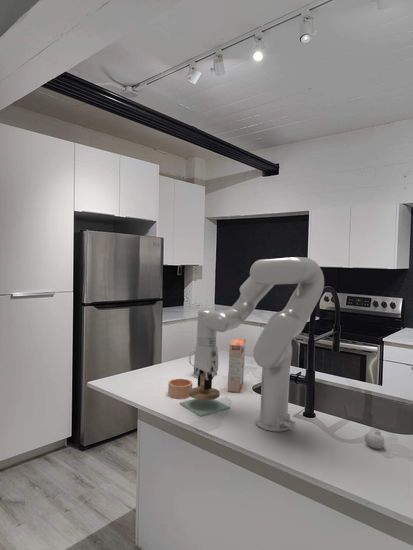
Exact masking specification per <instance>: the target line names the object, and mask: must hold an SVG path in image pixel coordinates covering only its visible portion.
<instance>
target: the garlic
mask: <svg viewBox="0 0 413 550" xmlns="http://www.w3.org/2000/svg"><path fill="white" fill-rule="evenodd" d="M381 434H382V432H381V431H379V430H378V431H369V432H367V433H365V435H364V441H365V444H366V446H367V445H368V446H369V447H370V448H373V449H376V450H381V449H383V448H384V446H385V437H384V436H383V435H381Z"/></svg>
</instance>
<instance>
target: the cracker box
mask: <svg viewBox="0 0 413 550" xmlns="http://www.w3.org/2000/svg"><path fill="white" fill-rule="evenodd" d="M228 349H229V352H228V353H229V354H228V371H227V372H228V373H227V374H228V376H227V392H229V393H231V392H232V393H239V394H240V393H241V390H242V389H243V384H244V377H245V376H244V375H245V358H246V339H245V338H233V339H232V340H231V342H230V344H229V348H228Z"/></svg>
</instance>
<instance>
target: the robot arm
mask: <svg viewBox="0 0 413 550" xmlns="http://www.w3.org/2000/svg"><path fill="white" fill-rule="evenodd" d="M294 284H295V285H296V284H297V287H296V288H295V290H294V291H293V293H292V295H291V296H290V298H289V300H288V302H287V303H286V306H284V308H283V309H282V310H281V311H277V312H276V313H274V314H272V316H271V317H269V319H268V321H267V322H266V325H265V326H264V327H263V330H262V332H261V333H260V335H259V337H258V339H257V341H256V343H255V345H254V348H253V360H254V361H255V363H256V364H257V365H258V366H259V367H261V368H262V369H261V385H260V386H261V390H260V410H259V411H260V415H257V416H256V417H255V424H256V426H258V427H259V428H260V429H263V430H266V431H268V432H277V433H278V432H279V433H280V432H286V431H288V430H293V429H294V427H295V426H296V421H294V420H291V414H290V413H289V391H290V390H289V389H290V376H291V375H290V374H291V373H290V372H291V364H292V358H293V346H292V343H291V342H292V341H293V339H294V338H295V337H297V336H299V335H300V334H301V333H302V331H303V330H304V328H305V326H306V324H307V323H308V321H309V319H310V317H311V315H312V313H313V311H314V309H315V307H316V306H317V305H318V302H319V300H320V299H321V296H322V294H323V290H324V288H325V277H324V272H323V270H322V269H321V267H320V266H319V264H318V263H317V262H316V261H315V260H313V259H311V258H309V257H301V256H294V257H292V256H291V257H281V258H280V257H279V258H265V259H264V258H263V259H257V260H256V261H255V262H253V264H252V265H251V267H250V270H249V277H247V279H246V280H245V281H244V282H243V283H242V284H241V285H240V287H239V293H240V295H239V297H238V299H237V300H236V302H234V304H232V306H231V307H230V308H229V309H226V310H222V311H217V310H216V309H212V308H201V309H199V310H198V312H197V326H196V327H197V328H196V345H195V347H196V349H195V348H194V349H195V350H194V351H195V353H194V360H193V361H194V362H193V363H194V364H193V365H194V366H193V368H194V367H195V368H196V371H197V376H198V378H197V387H200V374H201V373H205V376H206V380H204V390H209V389H211V388H213V387H212V386H213V384H212V383H213V379H214V377H216V376H218V370H219V352H218V351H219V350H218V346H217V332H219V333H225V332H228V331H230V330H235V329H236V328H238V327H240V326H241V325H242V324H243V323H244V322H245V321H246V320H247V319H248V318H249V317H250V315H251V314H252V313H253V312H254V310H255V309H256V307H257V305H258V304H259V302H261V300H262V299H263V298H264V297H265V296H267V294H268V293H269V291H271V289H272V288H273V287H274V286H275V285H294ZM208 373H210V375H209V376H208Z"/></svg>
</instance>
